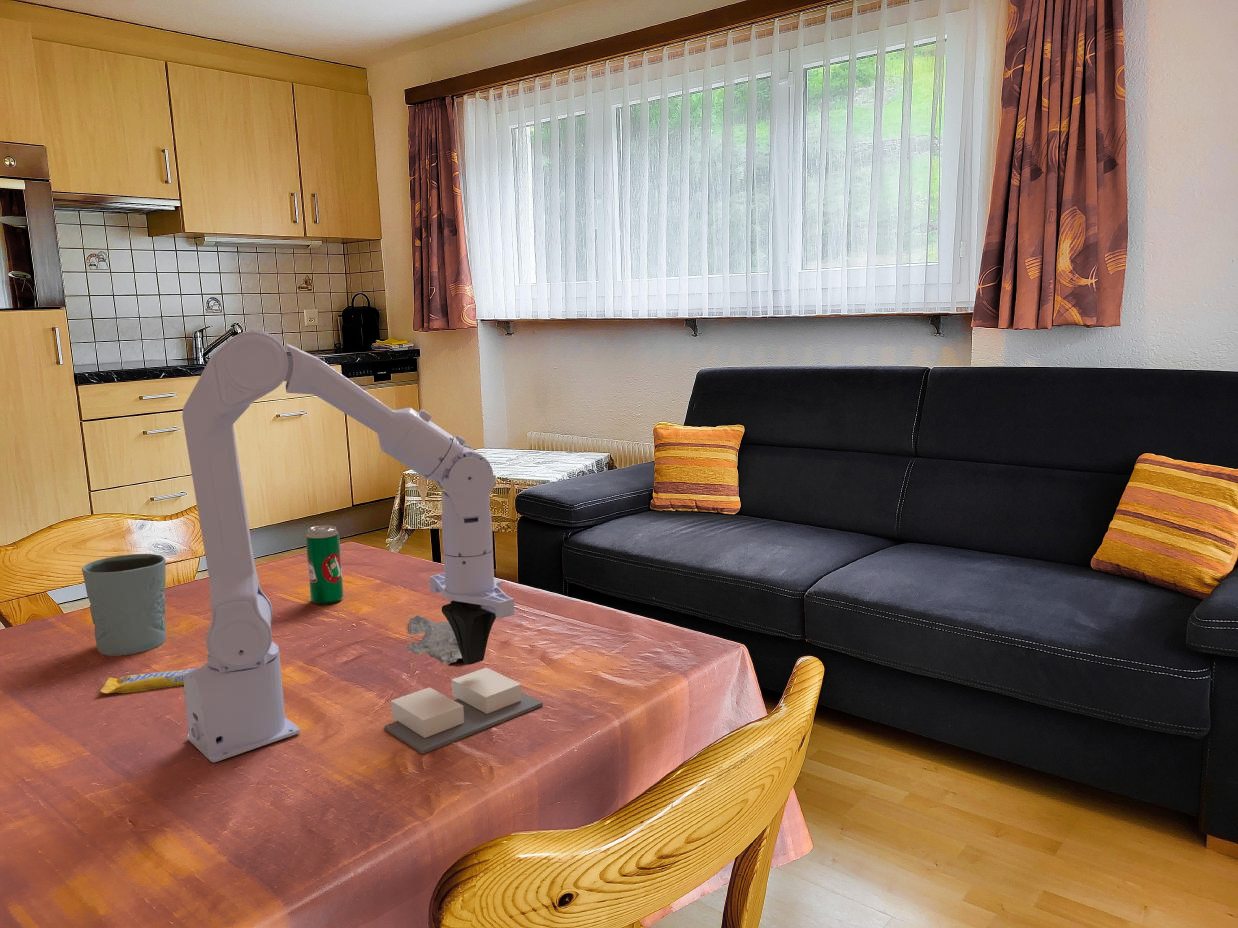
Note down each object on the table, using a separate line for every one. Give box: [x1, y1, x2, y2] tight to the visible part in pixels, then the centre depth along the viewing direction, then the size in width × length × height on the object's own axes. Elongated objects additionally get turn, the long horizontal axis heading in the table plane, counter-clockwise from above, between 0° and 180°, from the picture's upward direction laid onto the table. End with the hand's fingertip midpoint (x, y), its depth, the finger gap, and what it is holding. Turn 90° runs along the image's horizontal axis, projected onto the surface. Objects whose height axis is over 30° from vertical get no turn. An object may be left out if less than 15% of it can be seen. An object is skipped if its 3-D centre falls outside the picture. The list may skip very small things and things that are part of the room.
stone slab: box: [405, 615, 462, 666], centre depth 124 cm, size 18×2×10 cm
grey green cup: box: [81, 553, 167, 657], centre depth 124 cm, size 10×10×12 cm
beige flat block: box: [390, 687, 464, 738], centre depth 99 cm, size 5×2×7 cm
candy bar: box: [99, 667, 199, 695], centre depth 112 cm, size 17×4×2 cm, turn 107°
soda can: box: [305, 524, 344, 606], centre depth 142 cm, size 5×5×12 cm
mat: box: [383, 692, 544, 755], centre depth 100 cm, size 16×8×1 cm, turn 134°
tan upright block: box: [451, 667, 523, 714], centre depth 104 cm, size 5×2×7 cm
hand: (473, 661), depth 105 cm, fingers closed
